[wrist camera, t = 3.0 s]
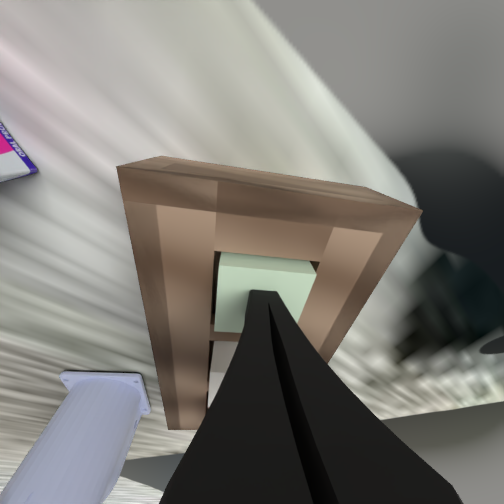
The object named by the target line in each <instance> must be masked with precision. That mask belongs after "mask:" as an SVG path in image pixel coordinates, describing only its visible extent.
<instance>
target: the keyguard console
mask: <svg viewBox="0 0 504 504" xmlns="http://www.w3.org/2000/svg"><path fill="white" fill-rule="evenodd" d="M116 168H117V173H118V178H119V183H120V188H121V193H122V198H123V203H124V209H125V214H126V219H127V224H128V229H129V234H130V239H131V244H132V249H133V254H134V259H135V264H136V269H137V274H138V279H139V285H140V290H141V295H142V300H143V305H144V310H145V315H146V320H147V325H148V330H149V335H150V340H151V345H152V350H153V355H154V360H155V366H156V371H157V376H158V381H159V386H160V391H161V396H162V401H163V406H164V411H165V416H166V421H167V426H168V430H198V428H199V426H200V425H201V423H202V421H203V419H204V417H205V415H206V413H207V411H208V395H209V380H210V368H211V361H212V354H213V347H214V341H230V342H239V339H240V336H241V333H235V332H217V331H214V326H215V312H216V299H217V285H218V271H219V262H220V257H221V252H231V253H241V254H250V255H260V256H270V257H280V258H289V259H299V260H309V261H310V263H311V265H312V267H313V269H314V270H315V272H316V274H317V275H316V278H315V280H314V283H313V285H312V288H311V290H310V293H309V295H308V298H307V300H306V303H305V305H304V308H303V310H302V313H301V315H300V318H299V320H298V323H297V324H298V326H299V327H300V329H301V330H302V331H303V333H304V334H305V336H306V337H307V339H308V340H309V341H310V343H311V344H312V345H313V347H314V348H315V349H316V351H317V352H318V353H319V354H320V356H321V357H322V358H323V359H324V361H325V362H326V363H327V364H328V362H329V361H330V359H331V358H332V356H333V354H334V353H335V351H336V350H337V348H338V346H339V345H340V343H341V342H342V340H343V338H344V337H345V335H346V334H347V332H348V330H349V329H350V327H351V326H352V324H353V322H354V321H355V319H356V318H357V316H358V314H359V313H360V311H361V310H362V308H363V306H364V305H365V303H366V302H367V300H368V298H369V297H370V295H371V294H372V292H373V290H374V289H375V287H376V285H377V284H378V282H379V281H380V279H381V277H382V276H383V274H384V273H385V271H386V269H387V268H388V266H389V265H390V263H391V261H392V260H393V258H394V257H395V255H396V253H397V252H398V250H399V249H400V247H401V245H402V244H403V242H404V241H405V239H406V237H407V236H408V234H409V233H410V231H411V229H412V228H413V226H414V225H415V223H416V221H417V220H418V218H419V217H420V215H421V213H422V212H423V210H420V209H418V208H416V207H413V206H411V205H408V204H406V203H403V202H401V201H399V200H396V199H394V198H391V197H389V196H386V195H384V194H381V193H379V192H377V191H374V190H372V189H369V188H367V187H361V186H355V185H348V184H342V183H335V182H329V181H322V180H316V179H309V178H303V177H296V176H290V175H283V174H276V173H270V172H263V171H257V170H250V169H244V168H237V167H231V166H224V165H218V164H211V163H205V162H198V161H192V160H185V159H179V158H172V157H166V156H158V157H154V158H150V159H146V160H141V161H137V162H133V163H129V164H125V165H120V166H116Z"/></svg>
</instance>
